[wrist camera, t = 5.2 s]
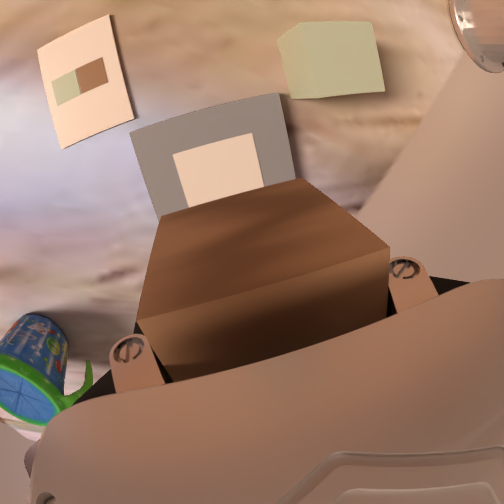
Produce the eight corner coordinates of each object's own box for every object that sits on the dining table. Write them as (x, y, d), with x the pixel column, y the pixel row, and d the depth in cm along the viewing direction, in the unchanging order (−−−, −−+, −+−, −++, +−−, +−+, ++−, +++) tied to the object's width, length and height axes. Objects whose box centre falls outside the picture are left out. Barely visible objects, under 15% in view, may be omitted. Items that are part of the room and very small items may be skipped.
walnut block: (301, 177, 11) (389, 246, 6) (317, 291, 14) (376, 389, 9) (161, 216, 11) (135, 320, 6) (203, 324, 14) (215, 439, 8)
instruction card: (109, 15, 16) (108, 14, 16) (134, 118, 21) (133, 118, 21) (38, 50, 16) (36, 49, 16) (63, 148, 21) (61, 149, 21)
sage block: (335, 35, 20) (370, 22, 15) (347, 91, 23) (385, 91, 18) (276, 39, 20) (300, 22, 15) (290, 99, 23) (317, 98, 18)
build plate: (274, 93, 22) (278, 92, 21) (299, 221, 28) (304, 226, 27) (132, 131, 22) (129, 133, 21) (175, 256, 28) (174, 263, 26)
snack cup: (99, 316, 29) (78, 389, 20) (102, 376, 33) (90, 441, 24) (-13, 286, 25) (-53, 342, 16) (3, 348, 29) (-22, 403, 20)
